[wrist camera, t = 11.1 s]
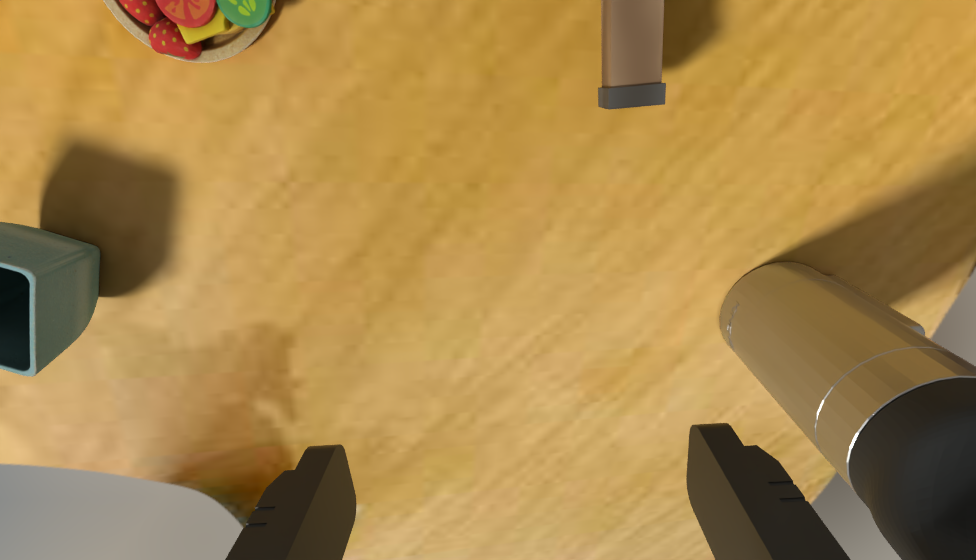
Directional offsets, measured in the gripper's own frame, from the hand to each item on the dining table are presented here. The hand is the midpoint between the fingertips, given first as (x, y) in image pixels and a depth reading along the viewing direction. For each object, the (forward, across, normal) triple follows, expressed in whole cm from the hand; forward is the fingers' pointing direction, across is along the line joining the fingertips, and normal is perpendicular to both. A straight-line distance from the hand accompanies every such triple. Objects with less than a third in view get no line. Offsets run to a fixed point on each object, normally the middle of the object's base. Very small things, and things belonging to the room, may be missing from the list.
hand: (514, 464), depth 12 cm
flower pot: (+30, +37, +3) cm, 48 cm away
